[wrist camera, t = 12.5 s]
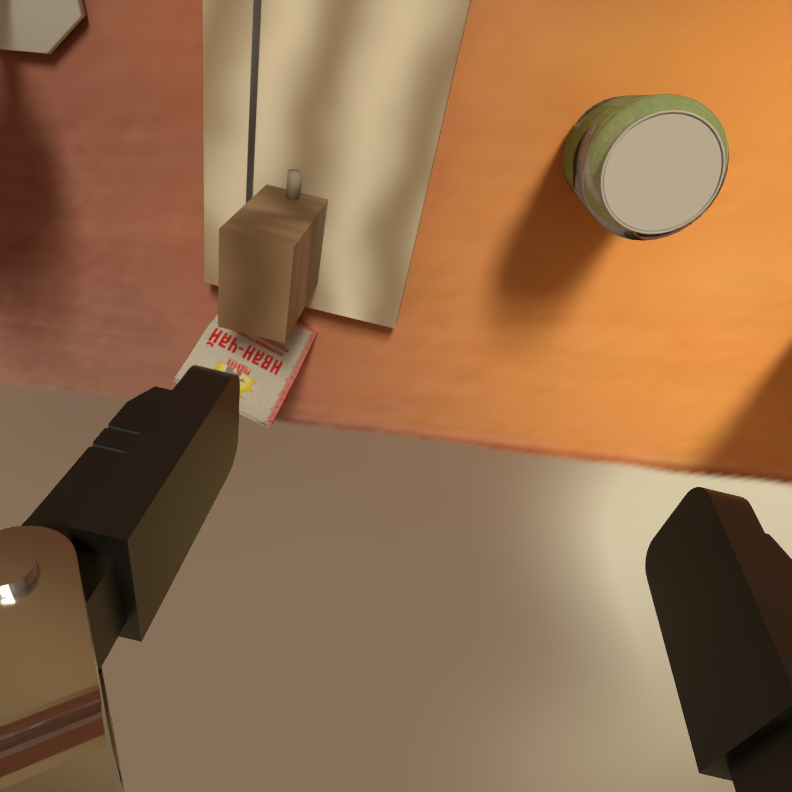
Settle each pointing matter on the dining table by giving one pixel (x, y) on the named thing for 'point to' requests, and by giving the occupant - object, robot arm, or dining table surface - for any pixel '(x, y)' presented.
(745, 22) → the dining table surface
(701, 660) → the robot arm
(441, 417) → the dining table surface
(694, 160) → the beverage can
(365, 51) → the board
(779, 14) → the dining table surface
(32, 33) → the wineglass
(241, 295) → the block
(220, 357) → the tea bag
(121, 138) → the dining table surface
